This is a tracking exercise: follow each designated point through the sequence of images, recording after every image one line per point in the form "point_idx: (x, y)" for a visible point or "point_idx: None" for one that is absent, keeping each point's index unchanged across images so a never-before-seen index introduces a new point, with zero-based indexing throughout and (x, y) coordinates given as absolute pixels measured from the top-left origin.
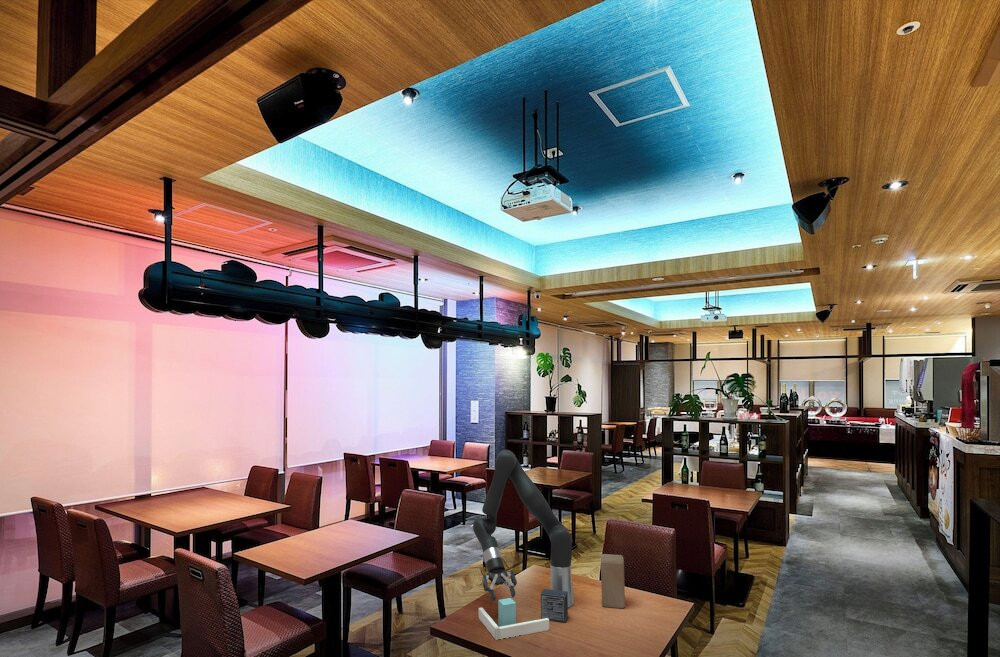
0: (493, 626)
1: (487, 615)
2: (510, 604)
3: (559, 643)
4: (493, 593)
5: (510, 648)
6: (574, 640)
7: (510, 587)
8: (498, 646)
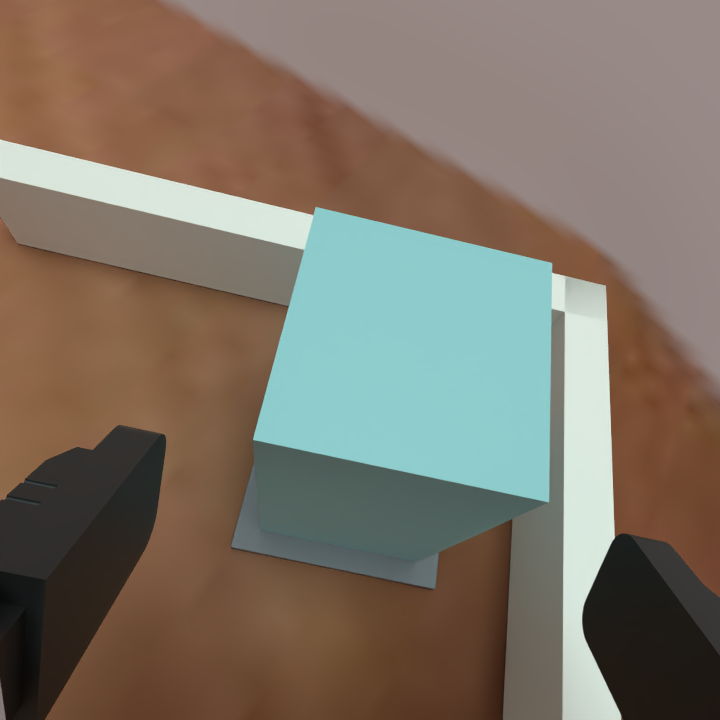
0: (606, 356)
1: (582, 659)
2: (419, 237)
3: (156, 55)
4: (717, 623)
5: (505, 193)
6: (29, 22)
7: (16, 667)
8: (574, 258)
